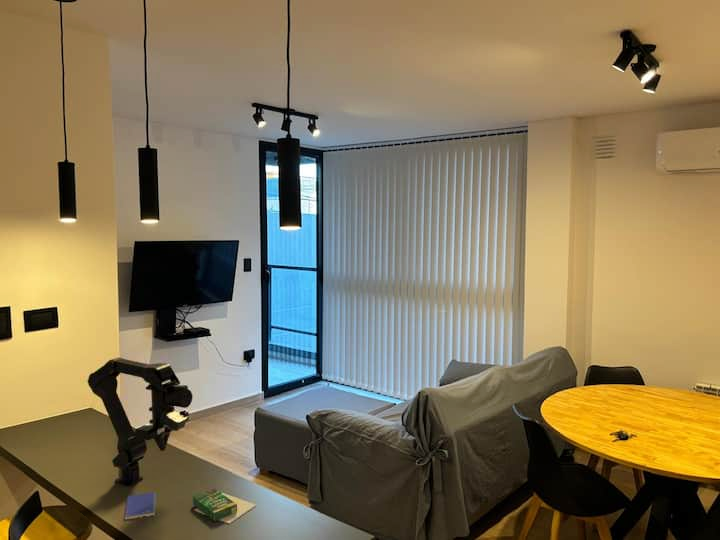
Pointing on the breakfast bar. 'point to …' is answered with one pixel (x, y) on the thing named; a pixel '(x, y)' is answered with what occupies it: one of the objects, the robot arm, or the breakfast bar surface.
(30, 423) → the breakfast bar surface
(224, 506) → the coffee box
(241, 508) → the mat
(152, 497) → the hard drive
